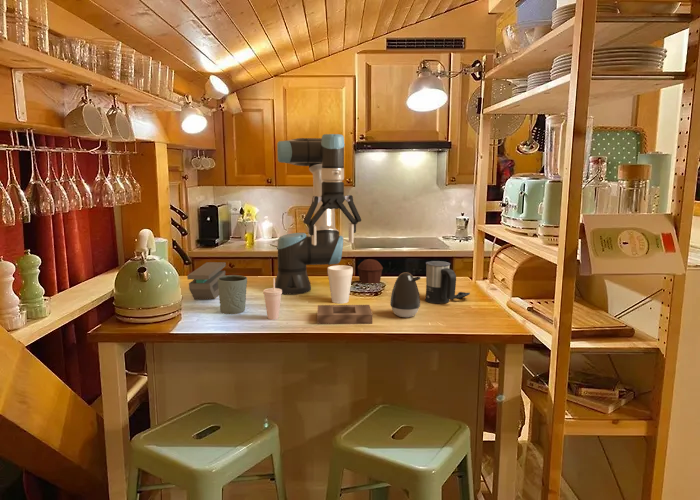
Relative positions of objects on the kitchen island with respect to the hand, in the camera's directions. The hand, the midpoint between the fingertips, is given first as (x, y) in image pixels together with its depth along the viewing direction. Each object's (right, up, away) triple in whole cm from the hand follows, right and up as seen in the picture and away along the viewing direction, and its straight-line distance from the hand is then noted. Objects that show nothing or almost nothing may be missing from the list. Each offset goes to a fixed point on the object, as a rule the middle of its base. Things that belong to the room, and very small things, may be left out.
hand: (332, 243), depth 178 cm
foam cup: (+2, -22, +19) cm, 29 cm away
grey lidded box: (-50, -20, +27) cm, 60 cm away
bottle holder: (+4, -25, -2) cm, 26 cm away
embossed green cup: (-35, -24, +6) cm, 43 cm away
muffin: (+15, -17, +50) cm, 55 cm away
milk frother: (+43, -22, +21) cm, 53 cm away
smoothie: (-20, -25, -2) cm, 32 cm away
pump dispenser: (+25, -25, +1) cm, 35 cm away
